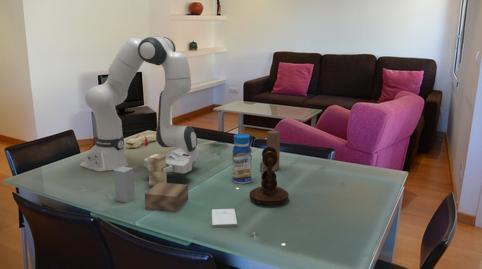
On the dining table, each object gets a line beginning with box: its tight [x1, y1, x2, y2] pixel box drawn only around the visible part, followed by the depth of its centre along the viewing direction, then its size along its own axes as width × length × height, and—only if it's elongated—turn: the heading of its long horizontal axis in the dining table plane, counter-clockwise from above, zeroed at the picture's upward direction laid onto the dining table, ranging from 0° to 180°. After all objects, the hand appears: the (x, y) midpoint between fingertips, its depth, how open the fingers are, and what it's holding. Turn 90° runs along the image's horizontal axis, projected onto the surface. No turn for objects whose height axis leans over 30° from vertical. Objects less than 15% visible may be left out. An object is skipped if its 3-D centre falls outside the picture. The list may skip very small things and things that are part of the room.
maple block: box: [147, 153, 168, 187], centre depth 174 cm, size 5×5×12 cm
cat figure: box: [125, 127, 157, 149], centre depth 240 cm, size 10×9×25 cm
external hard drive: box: [211, 208, 238, 228], centre depth 146 cm, size 2×8×12 cm
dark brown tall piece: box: [248, 146, 289, 206], centre depth 160 cm, size 15×15×20 cm
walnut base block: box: [144, 182, 189, 212], centre depth 158 cm, size 12×12×6 cm
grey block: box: [113, 166, 136, 203], centre depth 161 cm, size 5×5×12 cm
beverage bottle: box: [231, 133, 253, 185], centre depth 180 cm, size 8×8×20 cm
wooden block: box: [259, 129, 281, 173], centre depth 194 cm, size 9×4×18 cm, turn 139°
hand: (156, 169), depth 173 cm, fingers closed on maple block, 5 cm apart
